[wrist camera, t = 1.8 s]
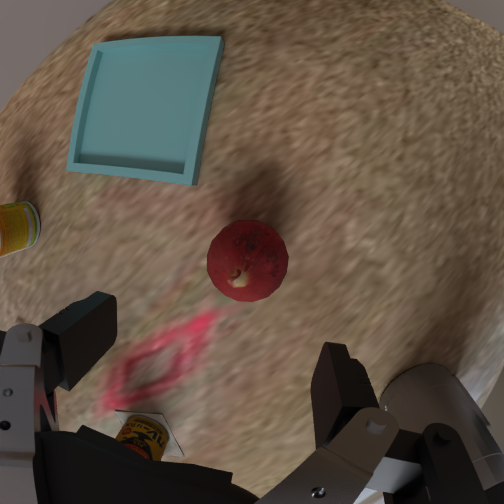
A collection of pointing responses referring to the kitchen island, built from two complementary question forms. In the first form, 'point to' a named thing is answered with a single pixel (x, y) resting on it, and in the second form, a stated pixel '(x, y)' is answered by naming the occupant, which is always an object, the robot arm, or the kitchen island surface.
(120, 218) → the kitchen island surface
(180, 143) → the tray
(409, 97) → the kitchen island surface
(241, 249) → the dark red rounded piece
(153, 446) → the condiment
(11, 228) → the supplement bottle
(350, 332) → the kitchen island surface
